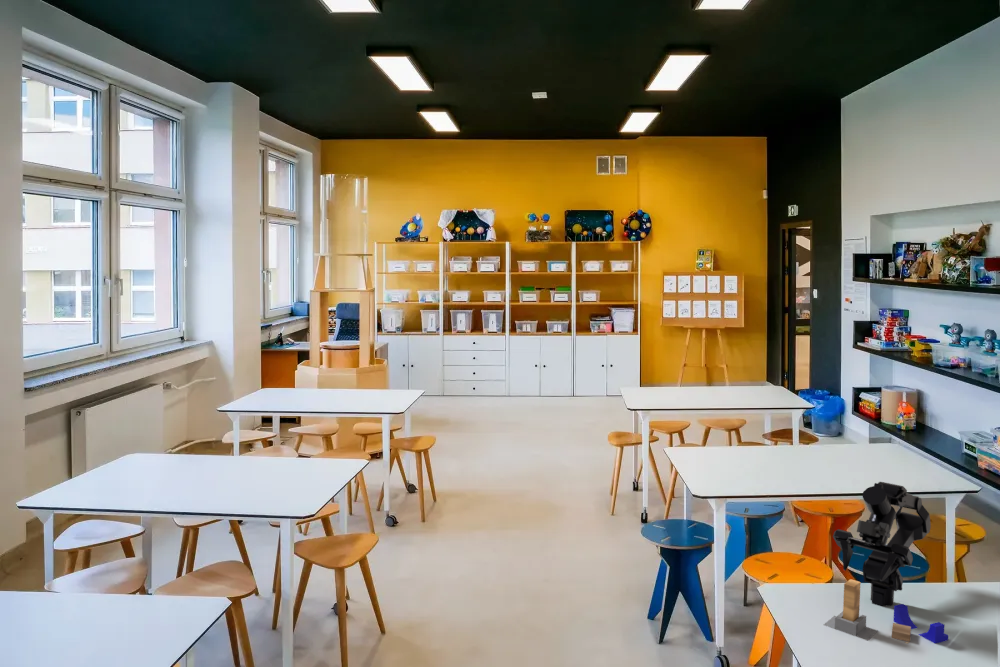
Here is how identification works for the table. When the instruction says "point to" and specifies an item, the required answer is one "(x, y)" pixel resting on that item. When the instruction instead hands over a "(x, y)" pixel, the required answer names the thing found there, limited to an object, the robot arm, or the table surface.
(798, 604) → the table surface
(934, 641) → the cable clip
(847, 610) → the tall strip
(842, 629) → the rack
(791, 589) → the table surface
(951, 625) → the table surface
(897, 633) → the upper offcut
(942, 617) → the table surface
